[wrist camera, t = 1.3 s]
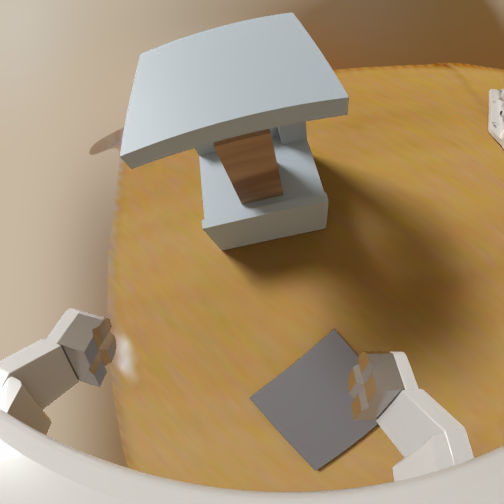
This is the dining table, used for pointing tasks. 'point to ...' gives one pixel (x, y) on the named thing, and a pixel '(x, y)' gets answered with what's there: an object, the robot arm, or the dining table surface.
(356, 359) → the felt mat
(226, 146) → the walnut block
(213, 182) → the grey cantilever stand
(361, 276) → the dining table surface
